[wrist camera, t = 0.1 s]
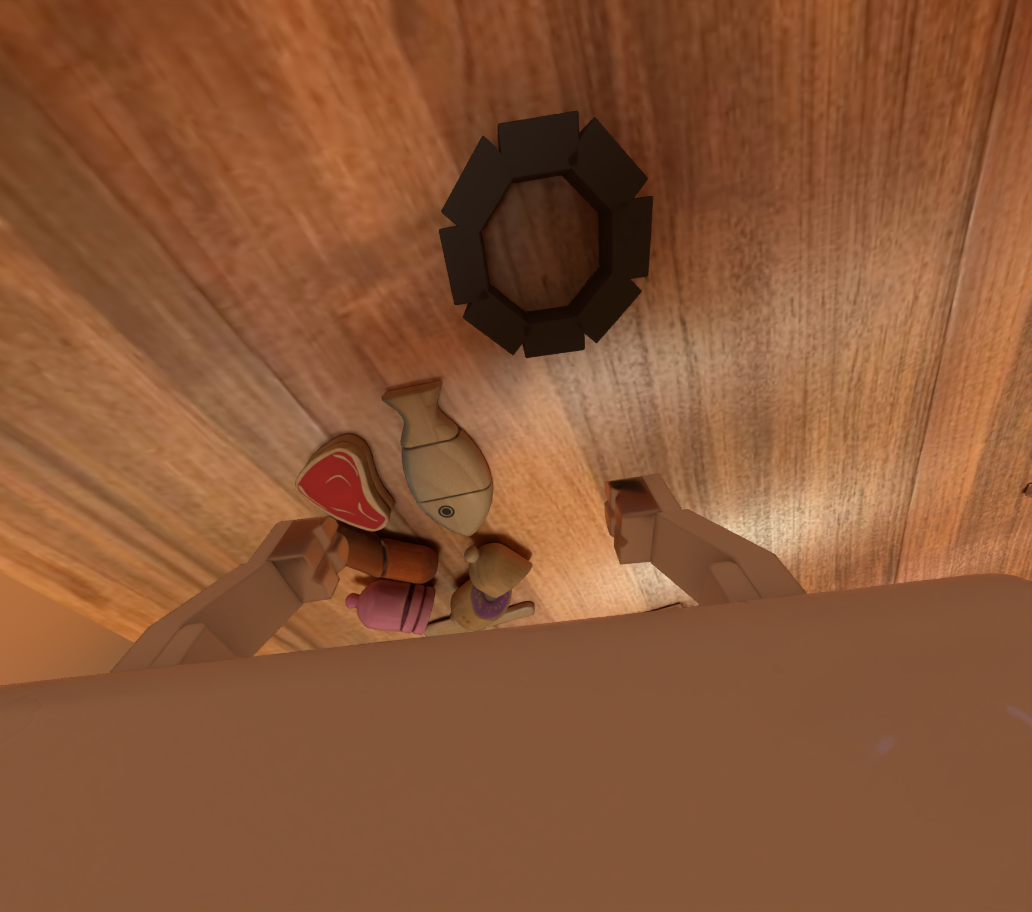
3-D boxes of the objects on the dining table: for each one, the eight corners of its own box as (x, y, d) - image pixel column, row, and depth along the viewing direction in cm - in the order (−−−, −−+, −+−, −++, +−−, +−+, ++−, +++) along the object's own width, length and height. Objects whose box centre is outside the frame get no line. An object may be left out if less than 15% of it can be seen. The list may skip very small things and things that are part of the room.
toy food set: (558, 603, 36) (564, 642, 33) (411, 641, 39) (403, 681, 35) (440, 369, 23) (430, 396, 19) (227, 452, 25) (185, 488, 22)
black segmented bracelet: (429, 147, 17) (418, 136, 15) (637, 113, 17) (660, 96, 14) (470, 351, 22) (467, 367, 20) (629, 328, 22) (644, 341, 19)
